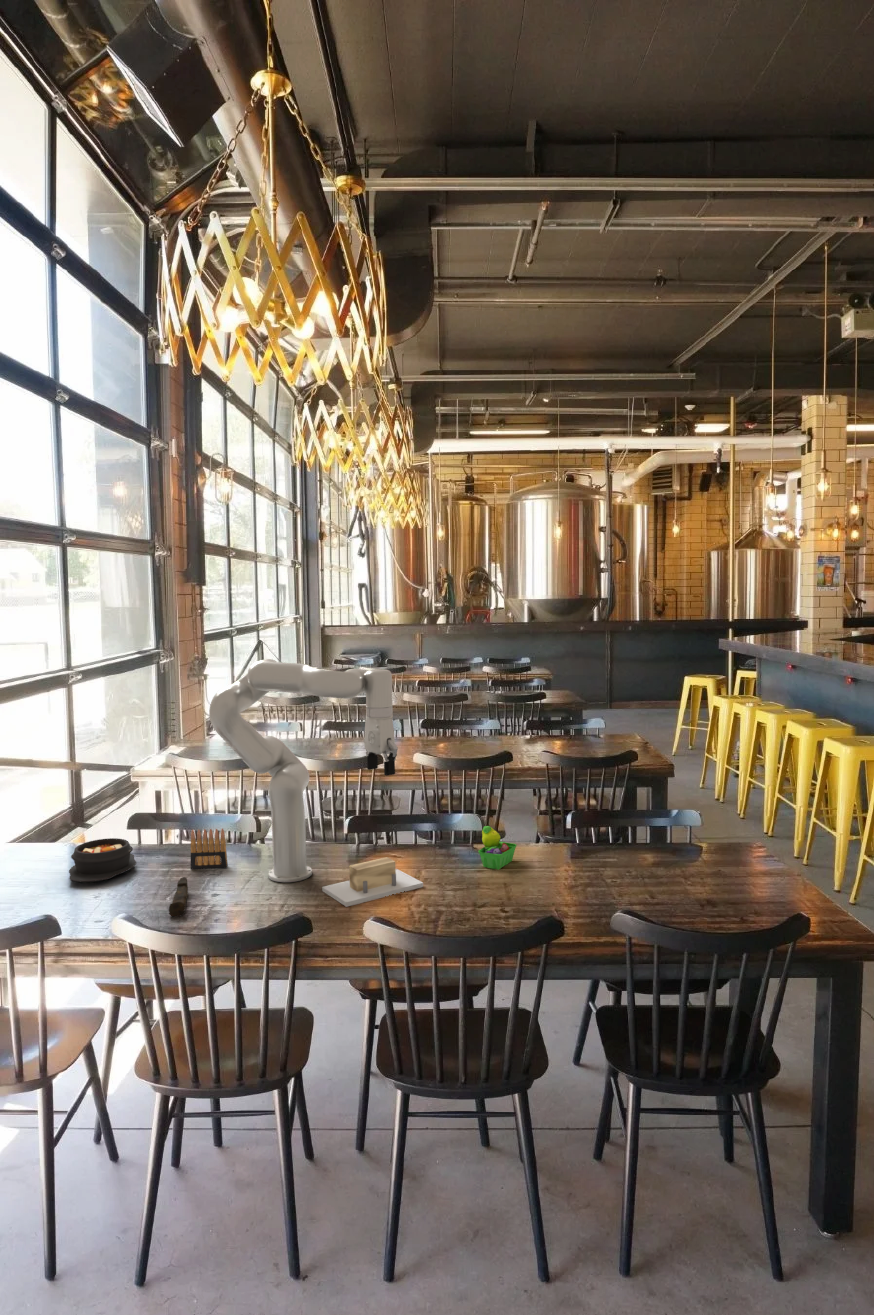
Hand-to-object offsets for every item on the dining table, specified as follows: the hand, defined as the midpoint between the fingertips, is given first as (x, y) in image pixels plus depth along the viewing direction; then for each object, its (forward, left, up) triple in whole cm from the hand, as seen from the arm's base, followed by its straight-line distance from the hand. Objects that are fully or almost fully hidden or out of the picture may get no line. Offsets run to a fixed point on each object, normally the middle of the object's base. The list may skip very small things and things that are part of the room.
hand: (380, 771), depth 233 cm
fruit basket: (+12, +32, -31) cm, 46 cm away
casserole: (-52, -66, -31) cm, 89 cm away
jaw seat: (+8, -8, -30) cm, 32 cm away
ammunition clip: (-37, -39, -31) cm, 62 cm away
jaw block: (+8, -8, -29) cm, 31 cm away
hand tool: (-14, -55, -31) cm, 64 cm away
